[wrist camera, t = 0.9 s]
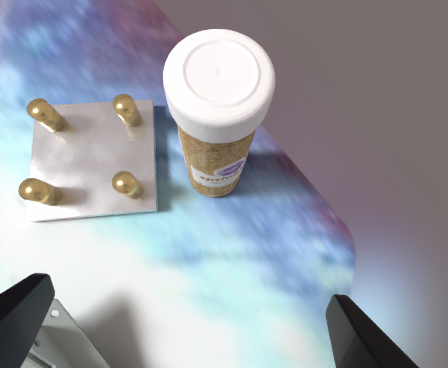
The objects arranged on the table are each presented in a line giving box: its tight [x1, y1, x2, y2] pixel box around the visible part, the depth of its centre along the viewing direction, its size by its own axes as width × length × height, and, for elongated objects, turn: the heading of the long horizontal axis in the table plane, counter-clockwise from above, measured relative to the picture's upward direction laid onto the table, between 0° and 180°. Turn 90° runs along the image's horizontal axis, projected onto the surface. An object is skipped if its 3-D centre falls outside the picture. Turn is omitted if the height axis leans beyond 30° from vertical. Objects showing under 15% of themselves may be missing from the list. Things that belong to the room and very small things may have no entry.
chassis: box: [19, 94, 158, 222], centre depth 21 cm, size 10×10×4 cm
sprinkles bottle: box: [163, 29, 275, 197], centre depth 17 cm, size 5×5×14 cm
